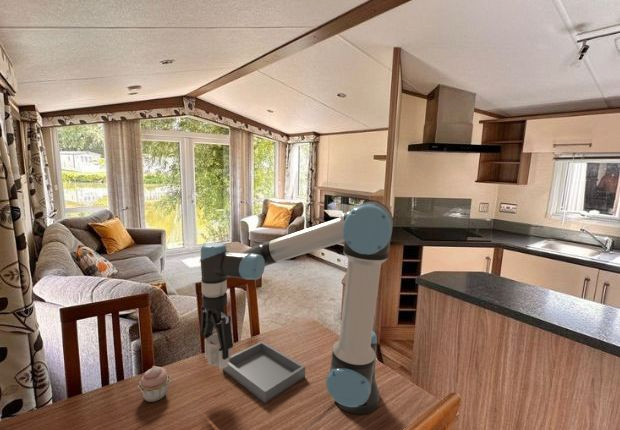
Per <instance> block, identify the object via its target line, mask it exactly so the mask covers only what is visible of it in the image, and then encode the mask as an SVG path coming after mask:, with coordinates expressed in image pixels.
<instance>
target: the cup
mask: <svg viewBox="0 0 620 430" xmlns="http://www.w3.org/2000/svg"><path fill="white" fill-rule="evenodd" d="M206 343H207V350H208V355H207V364H208V365H209V366H213V367H219V349H220V348H221V347H220V343H219V339H218V335H217V332H216V333H213V335H211V336H209V337H208V338H207V340H206ZM228 354H229V357H228V362H229V361H230V358H231V356H232V348H230V349H228Z"/></svg>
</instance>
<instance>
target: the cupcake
mask: <svg viewBox="0 0 620 430" xmlns="http://www.w3.org/2000/svg"><path fill="white" fill-rule="evenodd" d="M168 374H169V373H167V371H166V369H165V368H164V367H161V366H156V365H152V367H151V368H149V369H147V371H145V372H144V374H143V376H142V377H140V378H141V379H140V381H138V382H139V385H137V388H138V389H139V390H140V391H141V394H142V397H143V399H144V400H145V401H146V402H148V403H149V402H150V403H151V402H152V403H154V402H157V401H159V400H160V401H161V399H163V398H164V397H165V396H166V394H167V392H168V391H167V390H168V387H169V385H170V382H171V378H172V375H168Z"/></svg>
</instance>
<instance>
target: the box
mask: <svg viewBox="0 0 620 430" xmlns="http://www.w3.org/2000/svg"><path fill="white" fill-rule="evenodd" d="M222 371H223V372H224V373H225V374H226V375H228V377H230V378H232V379H233V380H234V381H236V382H237V383H239V385H240V386H242V387H243V388H244V389H245V390H247V392H249V393H250V394H252V395H253V396H255V397H256V398H257V399H258V400H260V401H261V402H263V403H264V404H267V403H269V402H270V401H272V400H273V399H274V398H276V397H278V396H279V395H281V394H282V393H284V392H285V391H286V390H288V389H291V387H293V386H294V385H296V384H297V383H299V382H300V381H302V380H303V379H305V378H306V366H305V365H303V364H302V363H300V362H298V361H297V360H295V359H293V358H291V357H289V356H288V355H286V354H284V353H282V352H281V351H279V350H278V349H276V348H274V347H273V346H271V345H269V344H268V343H266V342H264V341H259V342H258V343H255V344H253V345H252V346H249V347H247V348H245V349H243V350H241V351H239V352H236V353H234V354H231V358H230V361H229V362H228V366H227V367H225V368H223V369H222Z"/></svg>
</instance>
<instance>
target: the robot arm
mask: <svg viewBox="0 0 620 430" xmlns="http://www.w3.org/2000/svg"><path fill="white" fill-rule="evenodd" d="M341 214H342V215H341V216H340V217H337V218H334V219H331V220H328V221H324V222H322V223H319V224H316V225H313V226H310V227H307V228H303V229H301V230H298V231H296V232H292V233H290V234H289V233H288V234H287V235H284V236H280V237H277V238H275V239H272V240H269V241H265V242H260V243H258V244H256V245H255V246H253V247H251V248H248V249H246V250H244V251H241V252H236V251H235V252H234V251H229V250H228V249H227V245H226V243H222V242H211V243H210V242H209V243H207V244H206V243H205V244H203V245H202V246H201V248H200V258H199V261H200V272H201V284H200V285H201V294H202V295H201V306H200V313H201V315H200V328H199V330H200V331H199V333H200V335H202V336H203V338H204V358H205V359H207V355H208V350H207V343H206V340H207V338H208V337H209V336H211V335H213V334H214V333H213V331H214V329H216V333H217V335H218V339H219V343H220V347H221V348H220V349H219V366H218V367H219V370H221V371H223V368H225V367H227V366H228V357H229V354H228V349H230V348H231V349H232V348H233V347H234V345H233V344H234V343H233V335H232V333H233V332H232V324H231V321H232V317H231V315H226V312H225V307H226V306H227V305H228V293H227V291H228V283H227V282H228V280H227V279H228V278H234V279H235V278H236V279H241V280H247V281H250V280H254V281H255V280H259V279H261V278H262V276H263V274H264V272H265V267H268V266H270V265H273V264H274V265H275V264H276V263H279V262H282V261H286V260H288V259H292V258H295V257H298V256H301V255H305V254H306V255H307V254H309V253H312V252H315V251H318V250H322V249H326V248H328V247H331V246H335V245H338V244H342V243H343V252H342V253H343V255H344V256H345V257H346V258H347V267H346V274H345V275H346V278H345V285H344V286H345V287H344V292H343V293H344V294H343V302H342V303H343V304H342V309H341V310H342V313H341V321H340V330H339V335H338V337H339V338H338V340H337V341H336V342H335V343H334V344H333V346H332V351H331V360H330V361H331V362H330V368H329V372H328V373H327V376H326V381H325V382H326V383H325V386H326V390H327V393H328V394H329V396H330V397H332V399H333V400H334V403H335V404H336V406H337V407H338V408H340V409H341V410H343V411H345V412H347V413H350V414H353V415H365V414H369V413H372V412H373V411H375V410H376V409H377V408H378V406H379V404H380V390H379V387H378V384H377V380H376V362H377V361H376V360H377V358H376V357H377V346H378V345H377V344H378V339H377V338H378V336H377V334H376V332H375V331H374V322H375V314H376V307H377V299H378V291H379V284H380V283H379V282H380V275H381V268H382V264H383V263H384V262H386V261H388V258H389V254H390V245H391V238H392V235H393V234H392V233H393V226H394V217H393V214H392V212H391V210H390V209H389V207H388V206H387V205H385V204H384V203H382V202H379V201H376V200H369V201H365V202H362V203H360V204H358V205H357V206H355V207H353V208H352V209H350V210H347V211H345V212H343V213H341ZM227 250H228V251H227Z"/></svg>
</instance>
